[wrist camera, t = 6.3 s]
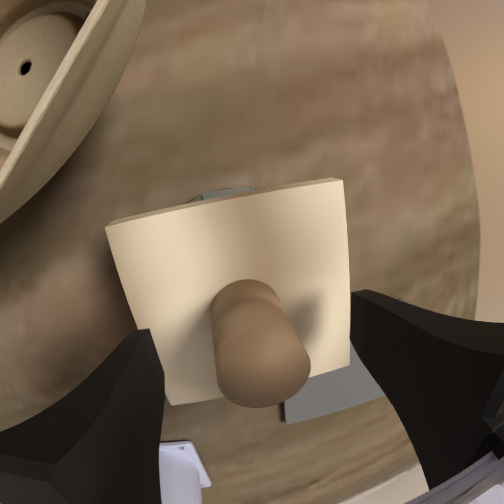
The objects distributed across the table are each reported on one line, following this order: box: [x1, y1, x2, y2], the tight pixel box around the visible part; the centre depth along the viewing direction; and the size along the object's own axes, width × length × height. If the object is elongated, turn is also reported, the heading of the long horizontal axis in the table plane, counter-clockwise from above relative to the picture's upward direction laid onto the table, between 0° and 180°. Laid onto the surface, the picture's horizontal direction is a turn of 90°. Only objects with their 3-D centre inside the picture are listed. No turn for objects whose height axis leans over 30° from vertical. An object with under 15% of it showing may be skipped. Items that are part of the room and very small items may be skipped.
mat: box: [283, 298, 406, 425], centre depth 20 cm, size 9×9×1 cm
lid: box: [105, 178, 350, 408], centre depth 11 cm, size 9×9×5 cm
